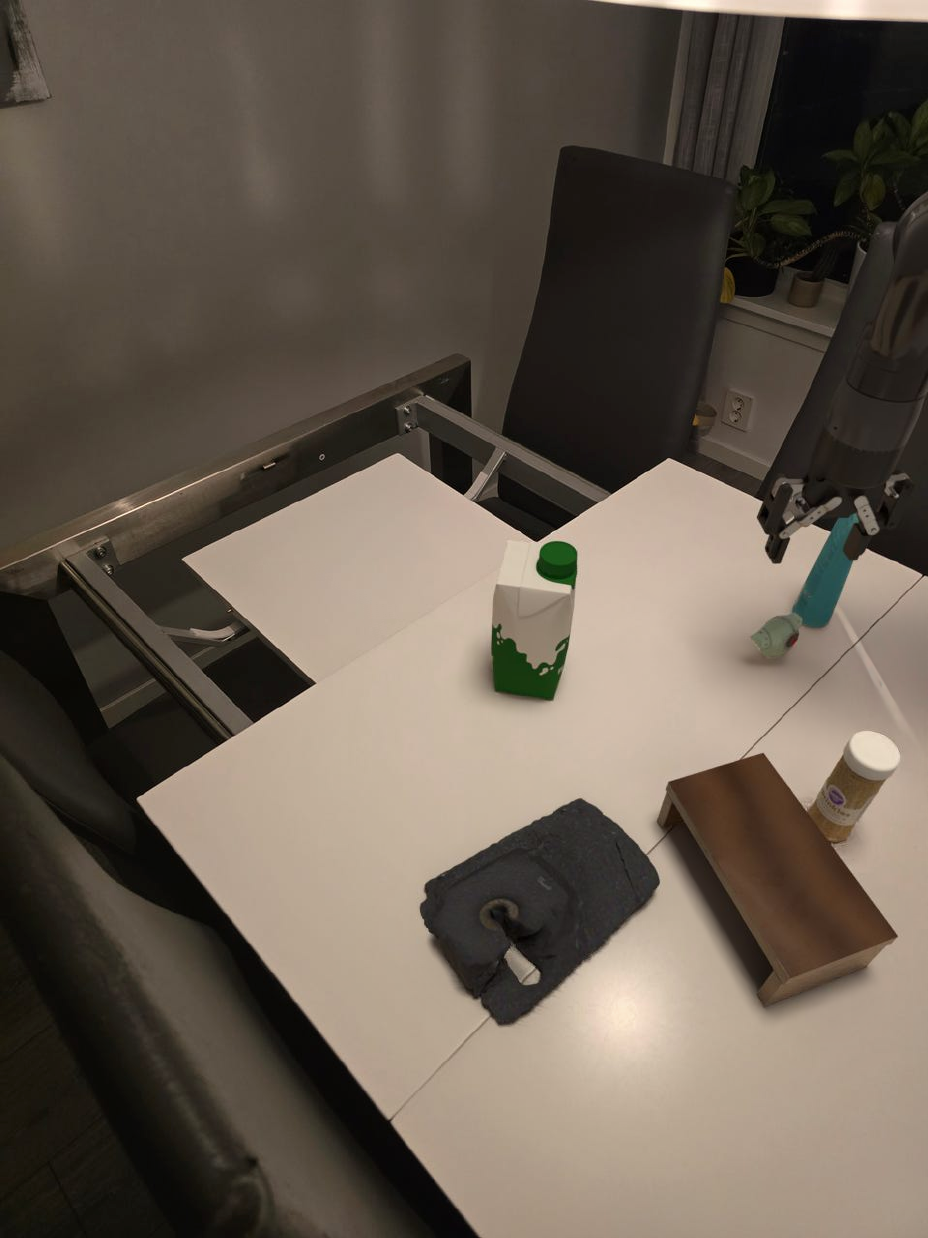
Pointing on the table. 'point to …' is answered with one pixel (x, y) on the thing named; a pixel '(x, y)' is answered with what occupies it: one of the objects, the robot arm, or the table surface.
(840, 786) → the sprinkles bottle
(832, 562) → the tube
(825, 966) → the shelf
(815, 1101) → the table surface
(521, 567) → the milk carton
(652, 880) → the dark slate chunk
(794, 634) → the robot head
